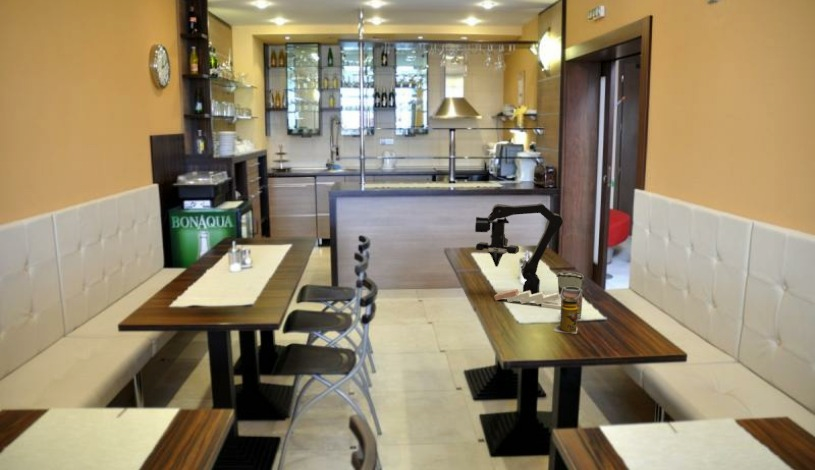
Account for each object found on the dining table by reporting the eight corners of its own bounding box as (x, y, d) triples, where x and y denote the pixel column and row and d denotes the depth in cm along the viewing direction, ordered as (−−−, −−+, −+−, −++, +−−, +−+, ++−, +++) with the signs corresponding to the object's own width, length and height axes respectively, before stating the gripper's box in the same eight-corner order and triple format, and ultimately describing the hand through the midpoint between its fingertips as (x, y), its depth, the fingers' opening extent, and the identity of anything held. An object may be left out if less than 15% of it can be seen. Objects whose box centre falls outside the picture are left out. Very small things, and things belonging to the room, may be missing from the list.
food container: (585, 294, 284) (586, 272, 282) (582, 297, 278) (584, 275, 276) (558, 290, 289) (559, 270, 287) (555, 294, 283) (556, 272, 281)
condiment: (576, 334, 230) (578, 303, 228) (553, 331, 232) (555, 300, 230) (577, 328, 237) (579, 297, 234) (555, 325, 239) (556, 295, 237)
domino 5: (543, 305, 267) (566, 308, 262) (541, 308, 263) (564, 311, 259) (543, 301, 266) (567, 304, 262) (541, 303, 263) (565, 306, 259)
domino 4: (537, 302, 268) (560, 296, 264) (536, 304, 264) (559, 298, 261) (536, 298, 268) (558, 292, 264) (535, 300, 264) (557, 294, 261)
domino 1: (497, 298, 275) (518, 293, 271) (495, 300, 272) (516, 295, 267) (496, 294, 275) (517, 288, 271) (493, 296, 272) (515, 291, 267)
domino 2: (510, 300, 273) (531, 294, 269) (508, 302, 269) (529, 296, 265) (508, 295, 273) (530, 290, 269) (506, 298, 269) (528, 292, 265)
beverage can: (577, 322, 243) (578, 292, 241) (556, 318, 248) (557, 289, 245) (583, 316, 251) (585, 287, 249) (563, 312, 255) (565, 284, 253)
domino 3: (522, 301, 270) (544, 295, 267) (521, 304, 267) (543, 298, 263) (521, 297, 270) (543, 291, 267) (519, 299, 267) (541, 293, 263)
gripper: (523, 231, 280) (521, 265, 283) (484, 228, 288) (483, 260, 291) (515, 235, 270) (514, 270, 273) (475, 231, 278) (474, 265, 281)
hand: (496, 266), depth 280 cm, fingers closed
